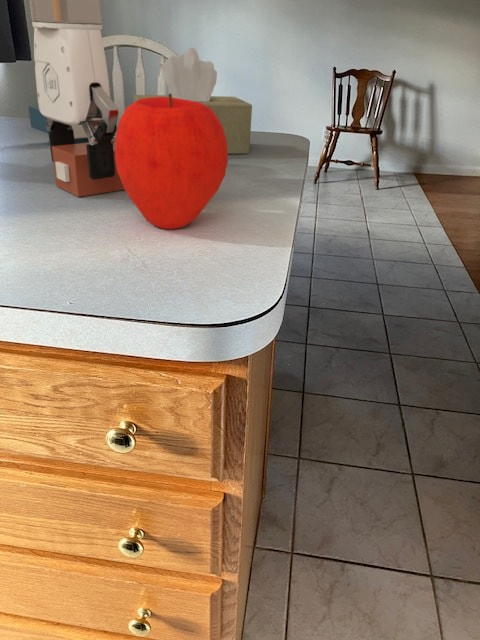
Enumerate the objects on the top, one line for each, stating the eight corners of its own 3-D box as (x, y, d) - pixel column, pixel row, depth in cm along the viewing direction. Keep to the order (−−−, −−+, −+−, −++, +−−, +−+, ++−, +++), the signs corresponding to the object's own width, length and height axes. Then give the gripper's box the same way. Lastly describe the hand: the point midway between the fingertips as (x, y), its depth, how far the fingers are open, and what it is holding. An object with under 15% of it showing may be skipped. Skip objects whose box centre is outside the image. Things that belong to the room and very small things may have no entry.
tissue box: (234, 142, 101) (239, 48, 94) (251, 154, 93) (257, 52, 86) (133, 143, 96) (129, 43, 88) (141, 155, 88) (137, 47, 80)
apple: (247, 228, 60) (255, 99, 54) (160, 251, 53) (157, 105, 46) (181, 201, 67) (181, 85, 61) (98, 218, 60) (87, 88, 54)
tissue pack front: (73, 197, 66) (69, 156, 64) (51, 186, 70) (46, 146, 67) (159, 183, 74) (158, 145, 71) (135, 173, 77) (133, 137, 75)
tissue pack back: (97, 145, 93) (95, 114, 90) (65, 149, 89) (61, 117, 87) (63, 132, 101) (60, 104, 98) (32, 135, 97) (28, 106, 95)
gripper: (2, 11, 63) (24, 160, 71) (72, 13, 52) (89, 189, 60) (62, 13, 68) (77, 153, 76) (138, 16, 57) (146, 179, 65)
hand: (82, 169), depth 68 cm, fingers open, 9 cm apart
